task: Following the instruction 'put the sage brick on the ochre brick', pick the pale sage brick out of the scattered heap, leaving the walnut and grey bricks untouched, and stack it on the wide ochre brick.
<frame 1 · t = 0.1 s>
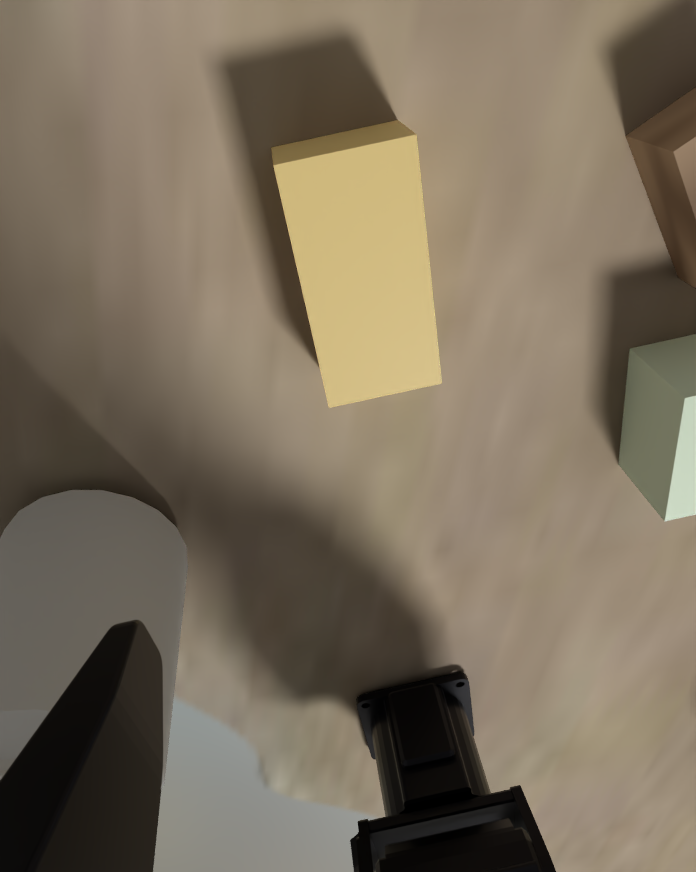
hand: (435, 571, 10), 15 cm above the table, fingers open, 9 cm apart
can: (102, 540, 27), on the table
walnut brick: (690, 184, 22), on the table
ochre brick: (354, 256, 22), on the table
sage brick: (661, 400, 27), on the table
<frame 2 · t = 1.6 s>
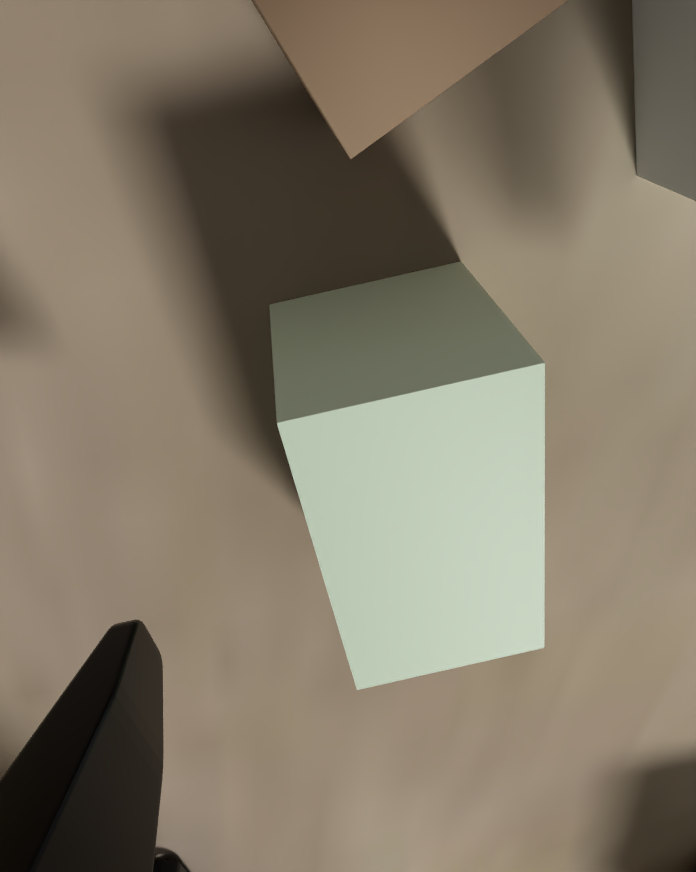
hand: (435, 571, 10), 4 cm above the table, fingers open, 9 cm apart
sage brick: (387, 417, 13), on the table
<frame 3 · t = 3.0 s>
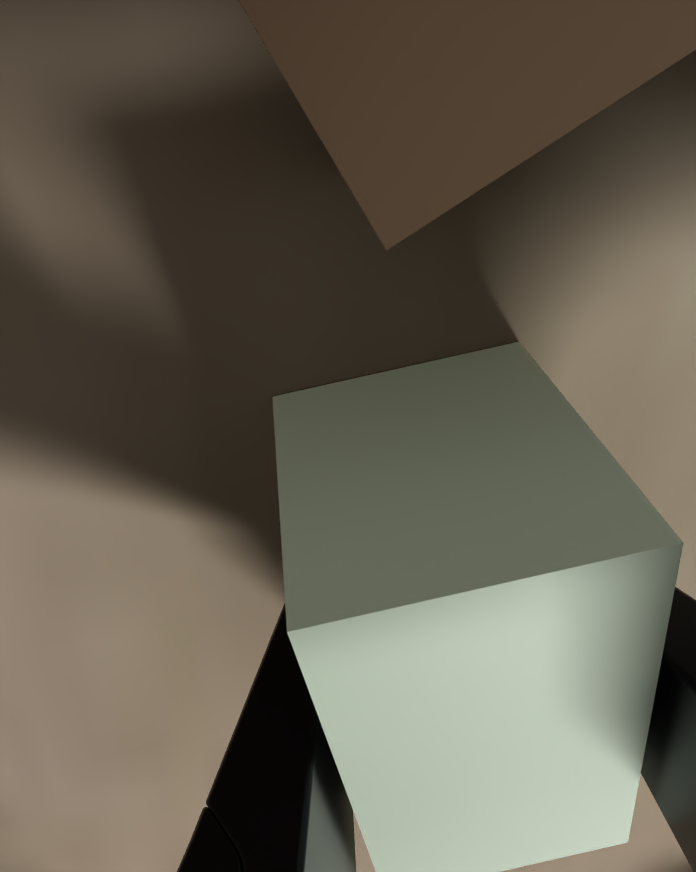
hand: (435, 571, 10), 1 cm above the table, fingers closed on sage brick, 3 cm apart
sage brick: (419, 525, 10), on the table, touching gripper
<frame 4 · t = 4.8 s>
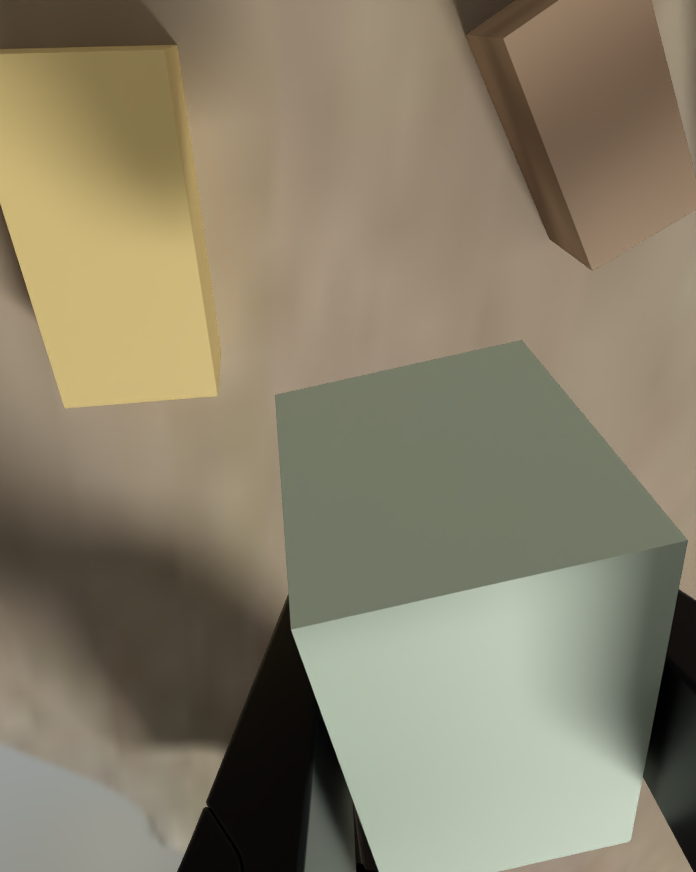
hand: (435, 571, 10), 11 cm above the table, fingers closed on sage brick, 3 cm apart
walnut brick: (558, 112, 17), on the table
ochre brick: (127, 219, 17), on the table
sage brick: (421, 523, 10), point 10 cm above the table, touching gripper
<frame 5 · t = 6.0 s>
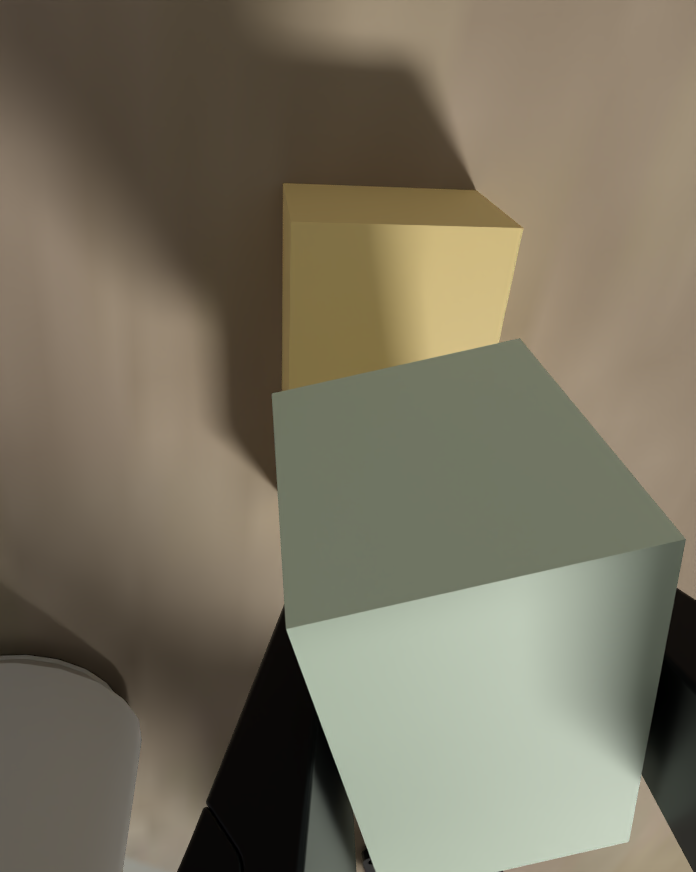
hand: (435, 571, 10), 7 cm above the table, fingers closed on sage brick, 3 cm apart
can: (28, 706, 21), on the table
ochre brick: (364, 357, 15), on the table
sage brick: (419, 523, 10), point 6 cm above the table, touching gripper
when the fingers open (5 cm above the table, at t = 6.9 s): sage brick drops 2 cm, resting on ochre brick.
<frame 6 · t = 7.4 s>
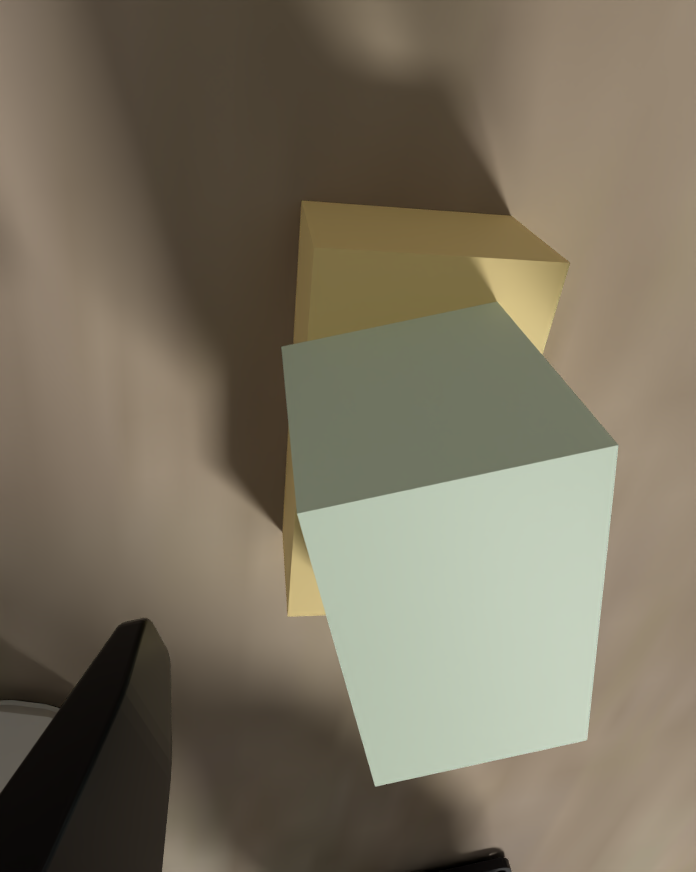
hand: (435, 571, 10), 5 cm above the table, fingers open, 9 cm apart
can: (15, 750, 20), on the table
ochre brick: (378, 387, 14), on the table, touching sage brick
sage brick: (409, 470, 12), point 3 cm above the table, touching ochre brick
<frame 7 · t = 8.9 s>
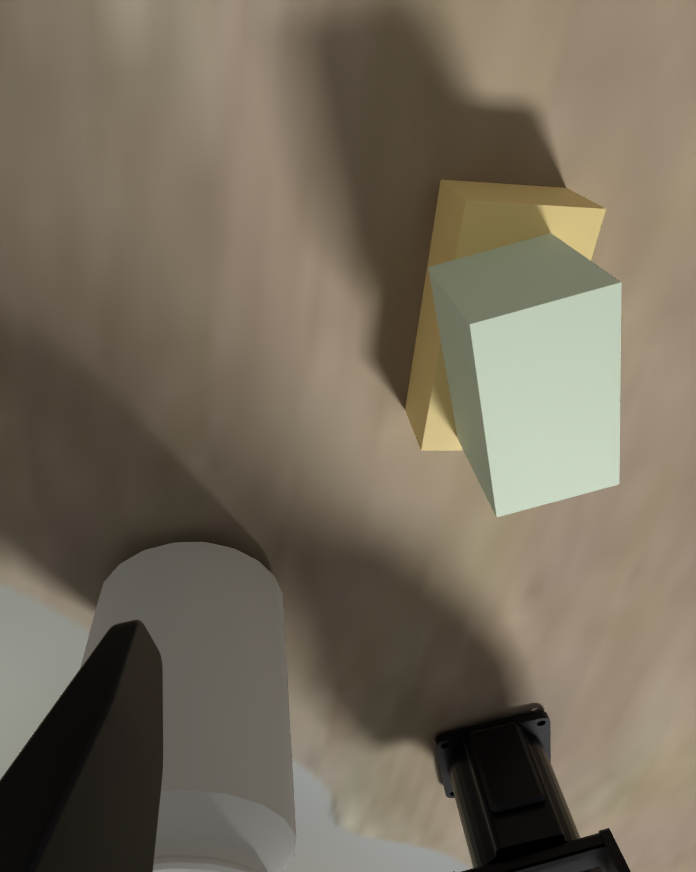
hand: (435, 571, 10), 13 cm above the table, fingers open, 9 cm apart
can: (195, 588, 27), on the table
ochre brick: (475, 304, 21), on the table, touching sage brick
sage brick: (499, 344, 19), point 3 cm above the table, touching ochre brick
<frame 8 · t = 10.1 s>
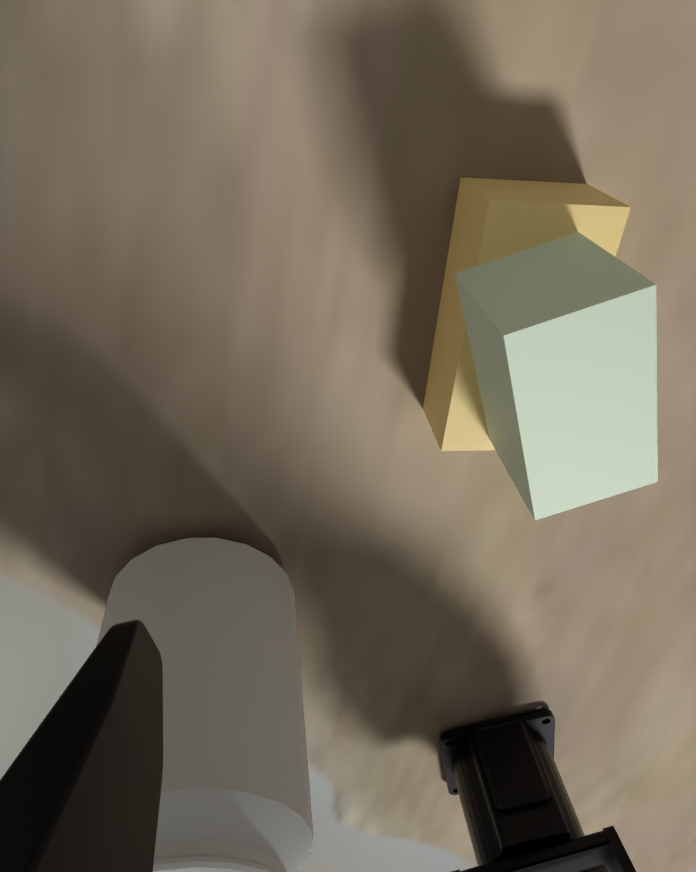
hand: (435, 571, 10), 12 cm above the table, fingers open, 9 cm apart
can: (205, 584, 27), on the table
ochre brick: (494, 302, 21), on the table, touching sage brick
sage brick: (529, 345, 19), point 3 cm above the table, touching ochre brick
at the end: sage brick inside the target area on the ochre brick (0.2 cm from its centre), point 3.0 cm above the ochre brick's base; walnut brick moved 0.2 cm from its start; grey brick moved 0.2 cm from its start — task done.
